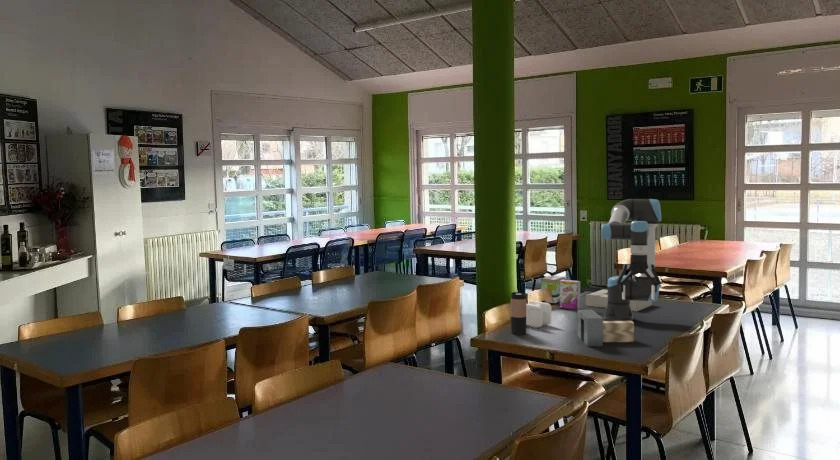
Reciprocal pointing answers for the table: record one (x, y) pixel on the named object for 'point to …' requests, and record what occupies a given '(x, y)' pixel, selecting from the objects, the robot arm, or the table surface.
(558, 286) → the tea box
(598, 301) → the box
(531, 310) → the cable organizer
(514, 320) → the travel mug
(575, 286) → the candy bar box
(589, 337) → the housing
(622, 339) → the bar
